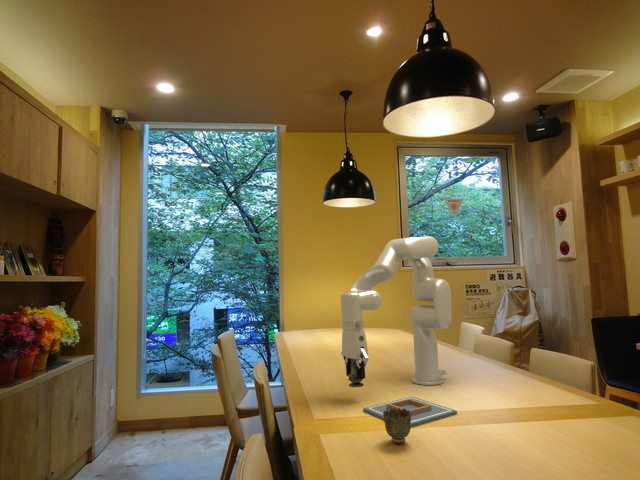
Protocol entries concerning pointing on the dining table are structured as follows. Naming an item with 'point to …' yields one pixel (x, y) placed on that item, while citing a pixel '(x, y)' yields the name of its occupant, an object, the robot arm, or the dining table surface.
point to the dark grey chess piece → (354, 375)
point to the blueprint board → (413, 410)
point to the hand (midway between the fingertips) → (355, 376)
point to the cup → (397, 424)
